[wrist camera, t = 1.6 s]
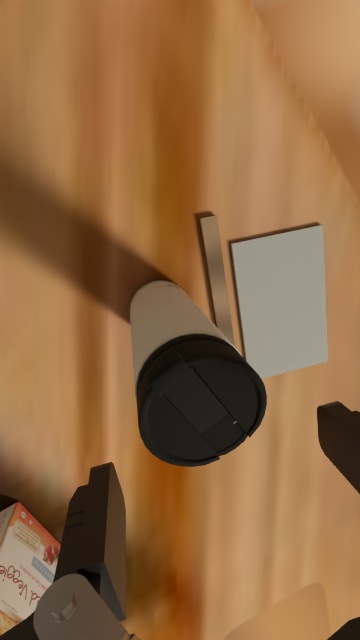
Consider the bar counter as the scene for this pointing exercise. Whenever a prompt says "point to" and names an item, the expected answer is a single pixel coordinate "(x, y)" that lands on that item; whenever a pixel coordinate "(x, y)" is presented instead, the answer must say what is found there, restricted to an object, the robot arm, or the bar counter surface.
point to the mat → (282, 300)
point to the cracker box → (23, 564)
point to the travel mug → (189, 380)
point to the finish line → (216, 275)
